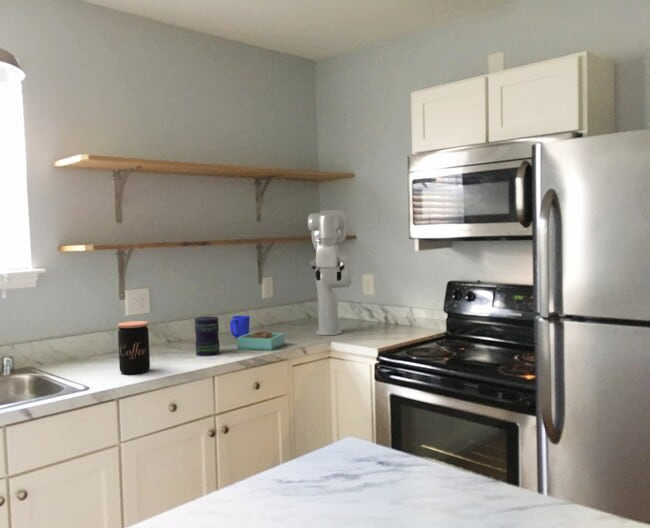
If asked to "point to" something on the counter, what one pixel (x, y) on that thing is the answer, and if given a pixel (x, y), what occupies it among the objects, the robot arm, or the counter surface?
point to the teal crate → (260, 342)
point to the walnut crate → (261, 335)
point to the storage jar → (207, 336)
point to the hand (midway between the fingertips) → (328, 280)
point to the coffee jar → (133, 347)
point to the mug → (239, 326)
